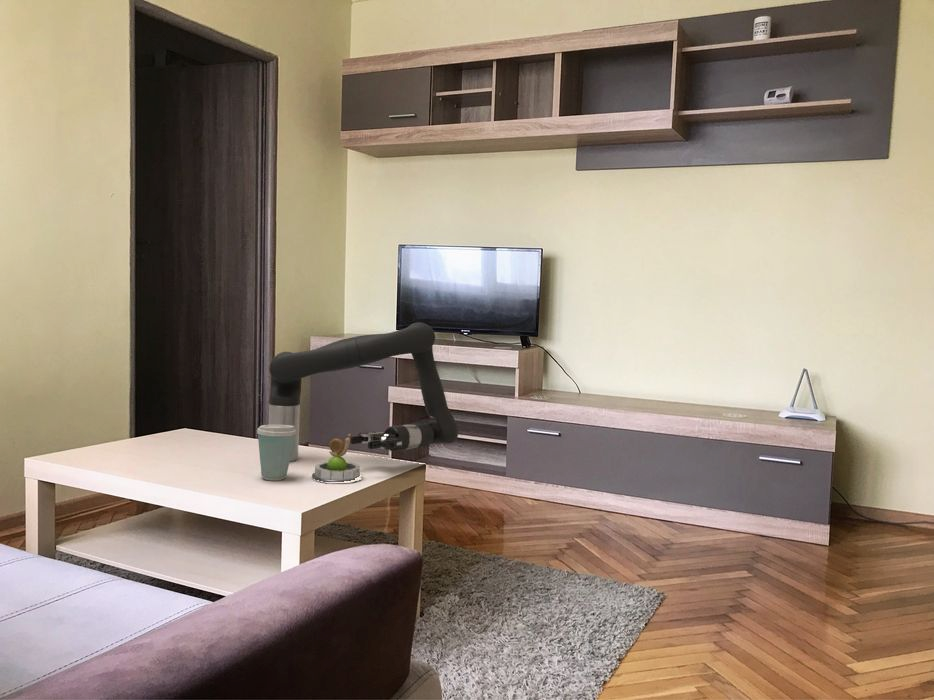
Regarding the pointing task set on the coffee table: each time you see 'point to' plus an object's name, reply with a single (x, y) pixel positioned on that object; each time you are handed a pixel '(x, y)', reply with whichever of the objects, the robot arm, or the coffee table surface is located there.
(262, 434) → the disposable coffee cup
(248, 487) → the coffee table surface
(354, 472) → the collar base
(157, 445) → the coffee table surface
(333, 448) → the snail figurine
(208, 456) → the coffee table surface
